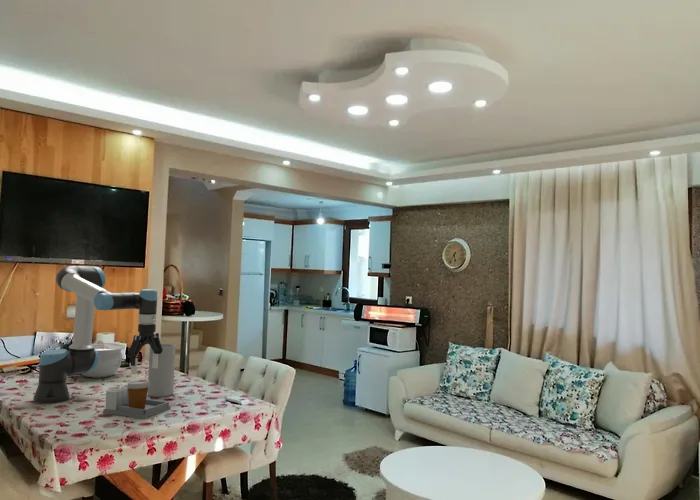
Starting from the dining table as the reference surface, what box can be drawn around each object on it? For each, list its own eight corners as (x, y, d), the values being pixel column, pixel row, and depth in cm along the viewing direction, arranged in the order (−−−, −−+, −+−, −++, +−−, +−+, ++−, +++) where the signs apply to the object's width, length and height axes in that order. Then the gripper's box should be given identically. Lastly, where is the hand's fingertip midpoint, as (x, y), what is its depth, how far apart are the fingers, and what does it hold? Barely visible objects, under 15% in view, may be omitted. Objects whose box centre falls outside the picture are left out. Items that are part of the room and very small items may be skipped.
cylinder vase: (143, 394, 278) (145, 345, 279) (165, 390, 287) (167, 343, 288) (154, 398, 269) (157, 348, 270) (177, 395, 278) (180, 346, 279)
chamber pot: (111, 381, 305) (113, 344, 306) (63, 379, 306) (65, 342, 306) (132, 371, 333) (133, 338, 334) (87, 370, 334) (89, 336, 334)
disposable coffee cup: (141, 412, 236) (142, 384, 237) (121, 411, 238) (122, 383, 239) (152, 407, 246) (153, 381, 247) (133, 407, 247) (134, 380, 248)
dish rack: (170, 409, 250) (171, 388, 251) (142, 418, 233) (143, 396, 234) (132, 403, 258) (133, 383, 258) (103, 412, 241) (104, 391, 242)
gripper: (133, 326, 233) (131, 376, 232) (171, 321, 256) (169, 366, 256) (120, 325, 236) (117, 374, 235) (159, 320, 259) (156, 365, 258)
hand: (144, 370), depth 245 cm, fingers open, 13 cm apart
